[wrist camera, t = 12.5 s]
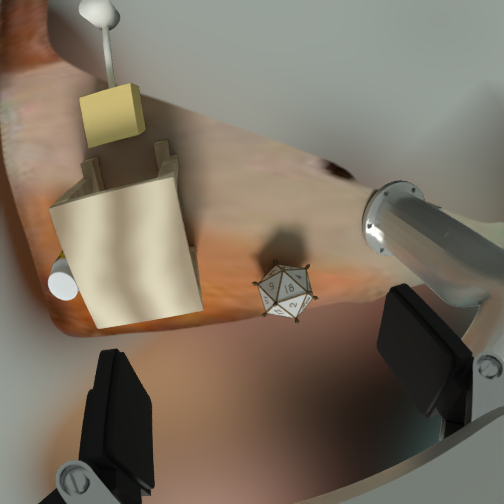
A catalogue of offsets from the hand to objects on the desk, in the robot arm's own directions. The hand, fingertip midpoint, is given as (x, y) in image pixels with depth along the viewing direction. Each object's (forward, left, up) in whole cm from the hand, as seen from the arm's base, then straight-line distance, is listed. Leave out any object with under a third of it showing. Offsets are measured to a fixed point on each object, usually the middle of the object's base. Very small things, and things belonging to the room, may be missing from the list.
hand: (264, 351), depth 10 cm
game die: (-8, +18, -31) cm, 36 cm away
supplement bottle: (+19, +8, -31) cm, 37 cm away
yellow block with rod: (+9, -14, -30) cm, 35 cm away
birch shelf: (+9, +5, -30) cm, 32 cm away
